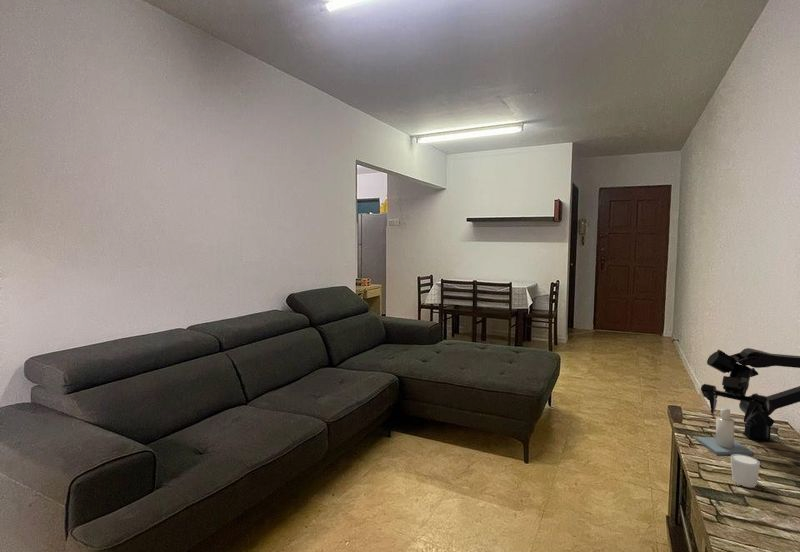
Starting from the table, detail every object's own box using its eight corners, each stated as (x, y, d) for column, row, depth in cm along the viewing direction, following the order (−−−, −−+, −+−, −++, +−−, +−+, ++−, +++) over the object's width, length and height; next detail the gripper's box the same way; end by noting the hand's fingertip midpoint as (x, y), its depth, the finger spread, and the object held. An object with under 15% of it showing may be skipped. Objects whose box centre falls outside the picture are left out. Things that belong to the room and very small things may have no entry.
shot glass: (765, 489, 123) (765, 466, 122) (737, 487, 124) (738, 464, 124) (750, 477, 129) (751, 454, 129) (724, 475, 131) (725, 452, 130)
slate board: (730, 440, 154) (730, 437, 154) (753, 454, 143) (753, 451, 143) (695, 439, 154) (695, 437, 154) (716, 454, 144) (716, 451, 143)
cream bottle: (727, 441, 150) (727, 406, 150) (737, 448, 145) (738, 411, 145) (712, 441, 151) (712, 406, 150) (721, 447, 146) (722, 411, 145)
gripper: (703, 362, 158) (691, 398, 152) (768, 373, 143) (758, 413, 137) (709, 378, 163) (698, 414, 157) (773, 391, 148) (763, 431, 142)
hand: (727, 417), depth 148 cm, fingers open, 9 cm apart
